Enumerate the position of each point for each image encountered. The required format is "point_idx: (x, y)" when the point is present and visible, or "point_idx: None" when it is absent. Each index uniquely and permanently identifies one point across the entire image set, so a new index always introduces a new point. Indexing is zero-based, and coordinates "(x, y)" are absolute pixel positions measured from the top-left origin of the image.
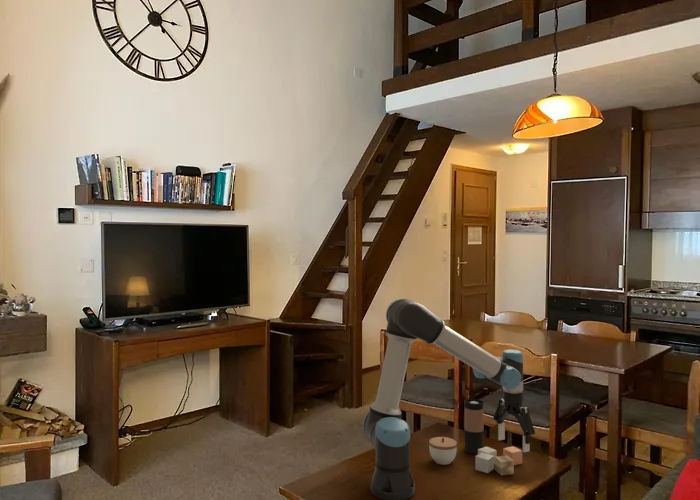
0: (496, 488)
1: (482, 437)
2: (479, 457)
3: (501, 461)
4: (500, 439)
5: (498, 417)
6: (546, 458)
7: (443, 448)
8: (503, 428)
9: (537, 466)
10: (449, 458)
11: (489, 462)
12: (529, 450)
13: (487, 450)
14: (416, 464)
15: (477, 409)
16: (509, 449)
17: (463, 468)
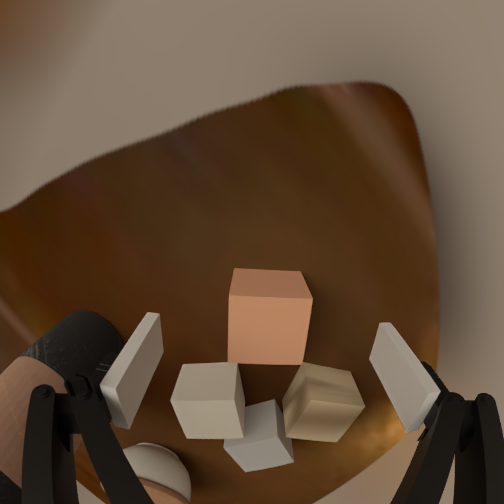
0: (369, 445)
1: (90, 370)
2: (259, 468)
3: (335, 440)
4: (161, 347)
5: (59, 419)
6: (320, 111)
7: None
8: (133, 369)
9: (364, 234)
10: (190, 481)
11: (289, 446)
12: (391, 326)
13: (216, 425)
14: None
15: None
16: (258, 347)
17: (222, 451)
